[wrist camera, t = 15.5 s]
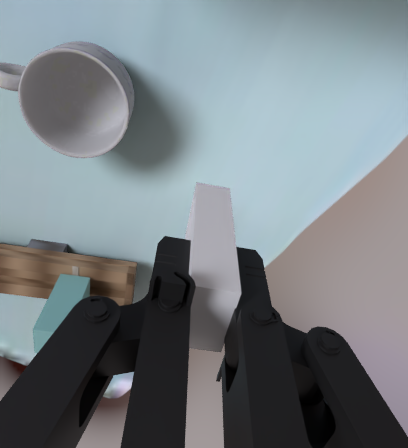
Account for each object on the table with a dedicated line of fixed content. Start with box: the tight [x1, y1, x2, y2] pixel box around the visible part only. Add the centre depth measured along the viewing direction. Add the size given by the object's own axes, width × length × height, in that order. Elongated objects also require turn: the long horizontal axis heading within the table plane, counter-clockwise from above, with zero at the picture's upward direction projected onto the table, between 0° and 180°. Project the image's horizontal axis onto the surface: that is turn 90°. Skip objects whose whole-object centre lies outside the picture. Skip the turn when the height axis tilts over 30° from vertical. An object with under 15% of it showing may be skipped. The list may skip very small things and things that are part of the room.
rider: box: [33, 274, 90, 353], centre depth 49 cm, size 4×4×12 cm
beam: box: [0, 239, 137, 306], centre depth 54 cm, size 26×7×6 cm, turn 80°
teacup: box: [0, 41, 134, 158], centre depth 39 cm, size 14×11×8 cm
